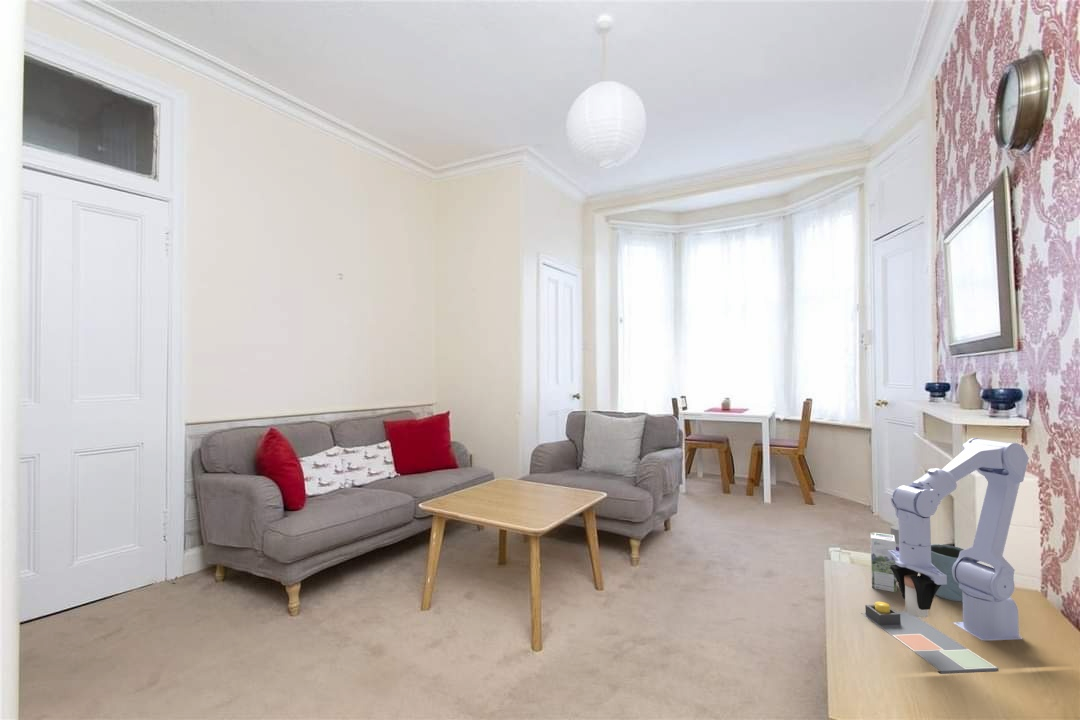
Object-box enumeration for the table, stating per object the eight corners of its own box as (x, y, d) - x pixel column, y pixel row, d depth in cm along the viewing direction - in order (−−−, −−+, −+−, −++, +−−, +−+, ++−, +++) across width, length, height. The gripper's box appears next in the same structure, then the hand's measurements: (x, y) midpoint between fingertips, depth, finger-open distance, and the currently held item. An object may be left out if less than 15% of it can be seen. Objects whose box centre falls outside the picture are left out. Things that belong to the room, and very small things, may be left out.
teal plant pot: (925, 585, 143) (923, 541, 143) (971, 592, 137) (970, 547, 138) (930, 600, 134) (929, 553, 134) (980, 608, 129) (979, 560, 129)
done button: (884, 612, 125) (884, 601, 125) (893, 618, 122) (893, 607, 122) (872, 612, 125) (872, 601, 125) (881, 618, 122) (880, 607, 122)
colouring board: (908, 613, 127) (908, 610, 127) (998, 671, 103) (998, 667, 103) (861, 615, 127) (860, 612, 127) (940, 673, 103) (940, 670, 103)
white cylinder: (917, 607, 115) (917, 574, 115) (933, 617, 111) (932, 582, 111) (900, 608, 115) (899, 575, 115) (915, 618, 111) (914, 583, 111)
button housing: (885, 614, 126) (885, 604, 126) (900, 624, 121) (900, 614, 121) (865, 614, 126) (865, 605, 126) (879, 625, 121) (879, 614, 121)
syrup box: (896, 586, 142) (894, 534, 142) (897, 594, 137) (895, 540, 137) (871, 582, 145) (870, 530, 145) (871, 590, 140) (870, 536, 140)
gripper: (874, 531, 120) (875, 590, 120) (922, 554, 106) (924, 620, 106) (903, 530, 120) (905, 588, 120) (956, 553, 106) (957, 619, 106)
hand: (916, 603), depth 113 cm, fingers closed on white cylinder, 4 cm apart
